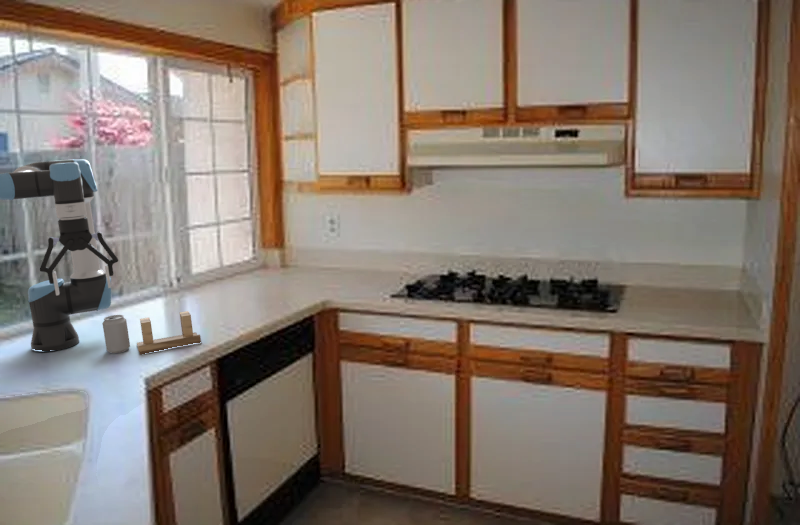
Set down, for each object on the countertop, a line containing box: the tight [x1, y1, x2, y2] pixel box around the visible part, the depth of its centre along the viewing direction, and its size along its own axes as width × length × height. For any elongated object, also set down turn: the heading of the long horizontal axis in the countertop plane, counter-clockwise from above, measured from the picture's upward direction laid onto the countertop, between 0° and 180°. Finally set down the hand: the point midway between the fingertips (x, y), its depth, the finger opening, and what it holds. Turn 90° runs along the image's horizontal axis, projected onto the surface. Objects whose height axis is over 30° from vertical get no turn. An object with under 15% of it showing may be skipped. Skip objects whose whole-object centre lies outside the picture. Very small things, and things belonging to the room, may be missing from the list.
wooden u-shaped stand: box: [136, 310, 202, 356], centre depth 222 cm, size 12×20×10 cm, turn 115°
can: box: [102, 314, 131, 354], centre depth 219 cm, size 8×8×12 cm
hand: (84, 290), depth 186 cm, fingers open, 13 cm apart
